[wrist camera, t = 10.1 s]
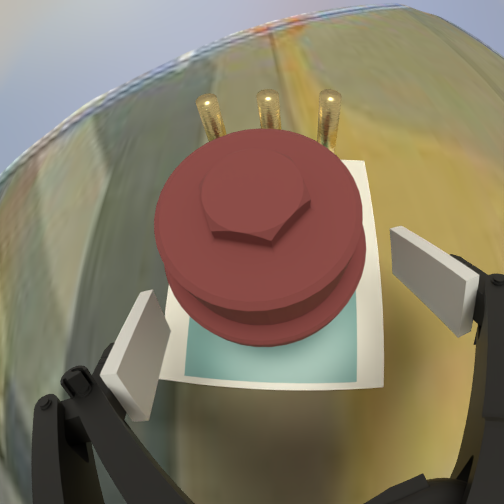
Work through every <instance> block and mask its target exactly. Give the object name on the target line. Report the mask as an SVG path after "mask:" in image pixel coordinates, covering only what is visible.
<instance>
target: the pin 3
mask: <svg viewBox="0 0 504 504" xmlns="http://www.w3.org/2000/svg"><path fill="white" fill-rule="evenodd" d="M341 98H342V96H341V94H340V93H339V92H337V91H335V90H332V89H326V90H323V91H321V92H320V98H319V118H318V135H317V142H318V143H320V144H322V145H323V146H325V147H326V148H328V149H329V150H330V151H331V152H333V153H335V146H336V138H337V131H338V123H339V115H340V106H341Z"/></svg>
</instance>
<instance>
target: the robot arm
mask: <svg viewBox="0 0 504 504" xmlns="http://www.w3.org/2000/svg"><path fill="white" fill-rule="evenodd" d="M390 238H391V253H392V272H393V274H394V275H395V276H396V277H397V278H398V279H399V280H400V281H401V282H402V283H403V284H404V285H406V286H407V287H408V288H409V289H410V290H411V291H412V292H413V293H414V294H415V295H416V296H417V297H418V298H419V299H420V300H421V301H422V302H423V303H424V304H425V305H426V306H427V307H428V308H429V309H430V310H431V311H432V312H433V313H434V314H435V315H436V316H437V317H438V318H439V319H440V320H441V321H442V322H443V323H444V324H445V325H446V326H447V327H448V328H449V329H450V330H451V331H452V332H453V333H454V334H455V335H456V336H457V337H460V336H462V335H464V334H466V333H468V332H470V331H471V328H472V323H473V320H474V321H475V322H476V323H478V327H477V332H476V337H475V341H474V345H476V353H475V365H474V375H473V383H472V391H471V397H470V404H469V410H468V415H467V420H466V425H465V430H464V435H463V439H462V443H461V448H460V451H459V455H458V459H457V462H456V465H455V468H454V470H453V472H452V474H451V477H450V478H436V479H429V480H426V478H425V476H424V474H420V475H418V476H416V477H414V478H412V479H409V480H407V481H405V482H402V483H400V484H398V485H395V486H393V487H390V488H389V489H387V490H385V491H384V492H382V493H381V494H379V495H378V496H376V497H374V498H373V499H371V500H369V501H368V502H366V503H364V504H504V275H503V274H491V275H487V274H486V273H484V272H483V271H481V270H480V269H478V268H477V267H475V266H474V265H473V266H472V264H471V263H469V262H467V261H466V260H464V259H463V258H461V257H459V256H456V255H453V254H450V255H449V254H447V253H446V252H444V251H442V250H441V249H439V248H438V247H436V246H434V245H433V244H431V243H430V242H428V241H426V240H425V239H423V238H421V237H420V236H418V235H416V234H415V233H413V232H411V231H410V230H408V229H406V228H404V227H403V226H398V227H394V228H391V229H390ZM170 333H171V330H170V328H169V325H168V323H167V321H166V319H165V316H164V314H163V312H162V310H161V307H160V305H159V303H158V300H157V298H156V296H155V293H154V291H153V290H149V291H145V292H140V294H139V296H138V298H137V300H136V302H135V304H134V306H133V308H132V310H131V312H130V313H129V315H128V317H127V319H126V321H125V323H124V325H123V327H122V329H121V331H120V333H119V335H118V337H117V339H116V341H115V343H111V344H110V345H109V346H108V347H107V348H106V349H105V350H104V352H103V354H102V356H101V359H100V360H99V362H98V365H97V366H96V368H95V370H94V372H93V374H92V375H91V374H90V372H89V371H88V369H87V368H86V367H85V366H75V367H73V368H71V369H70V370H68V371H67V372H66V373H65V374H64V375H63V376H62V378H61V385H62V387H63V388H64V389H65V391H66V392H67V393H68V395H69V396H70V397H71V398H70V399H67V400H64V401H61V402H60V400H59V399H58V398H57V396H55V395H54V394H48V395H45V396H44V397H41V399H39V400H38V402H37V403H36V405H35V408H34V418H33V433H32V493H33V504H105V503H104V499H103V495H102V491H101V487H100V483H99V479H98V474H97V470H96V465H95V460H94V455H93V449H92V444H93V446H94V448H95V450H96V452H97V454H98V456H99V457H100V459H101V461H102V463H103V465H104V466H105V468H106V470H107V472H108V473H109V475H110V477H111V478H112V480H113V482H114V483H115V485H116V487H117V488H118V490H119V491H120V493H121V494H122V496H123V498H124V499H125V501H126V502H127V504H194V503H193V502H192V501H191V500H190V498H189V497H188V496H187V495H186V494H185V493H184V492H183V491H182V490H181V489H180V488H179V487H178V486H177V485H176V484H175V483H174V481H173V480H172V479H171V478H170V477H169V476H168V475H167V474H166V472H165V471H164V470H163V469H162V468H161V467H160V465H159V464H158V463H157V462H156V461H155V459H154V458H153V457H152V456H151V454H150V453H149V452H148V451H147V449H146V448H145V447H144V446H143V444H142V443H141V442H140V440H139V439H138V438H137V436H136V435H135V434H134V432H133V431H132V430H131V428H130V427H129V425H128V424H127V423H126V422H125V420H124V419H125V416H126V413H127V414H128V416H129V417H130V418H131V420H132V421H133V422H134V421H149V418H150V413H151V409H152V404H153V400H154V396H155V392H156V387H157V383H158V379H159V375H160V371H161V367H162V363H163V359H164V355H165V352H166V348H167V344H168V340H169V336H170ZM91 442H92V443H91Z"/></svg>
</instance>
